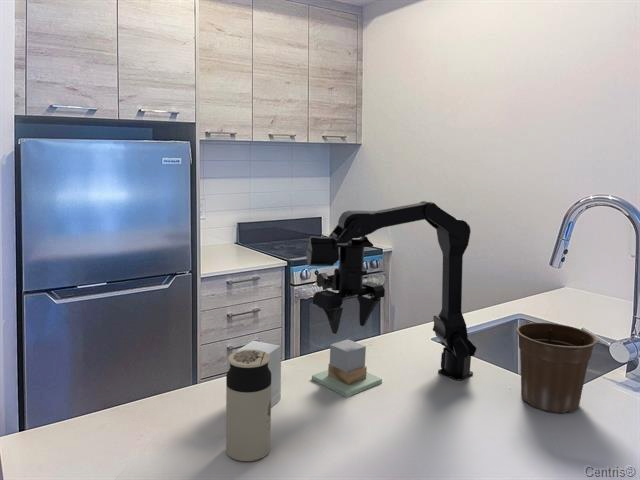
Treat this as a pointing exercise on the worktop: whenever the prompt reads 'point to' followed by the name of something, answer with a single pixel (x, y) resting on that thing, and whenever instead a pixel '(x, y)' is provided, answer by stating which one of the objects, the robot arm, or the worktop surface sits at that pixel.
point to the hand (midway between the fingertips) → (348, 329)
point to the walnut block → (347, 374)
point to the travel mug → (248, 405)
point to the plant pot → (553, 365)
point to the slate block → (347, 355)
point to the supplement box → (270, 366)
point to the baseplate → (344, 388)
